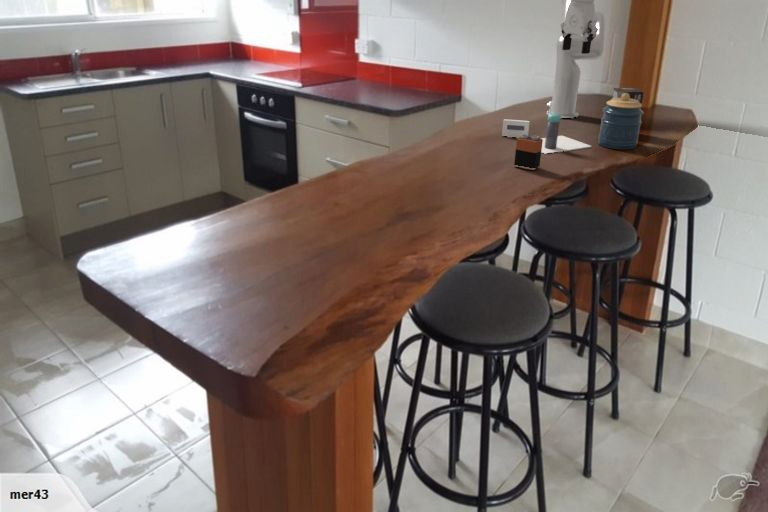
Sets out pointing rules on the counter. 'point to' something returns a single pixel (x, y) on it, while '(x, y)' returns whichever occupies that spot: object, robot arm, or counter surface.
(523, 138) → the battery
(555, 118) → the marker
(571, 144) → the paper
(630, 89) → the coffee box
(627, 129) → the canister
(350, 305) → the counter surface
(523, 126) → the word card
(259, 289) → the counter surface
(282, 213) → the counter surface
